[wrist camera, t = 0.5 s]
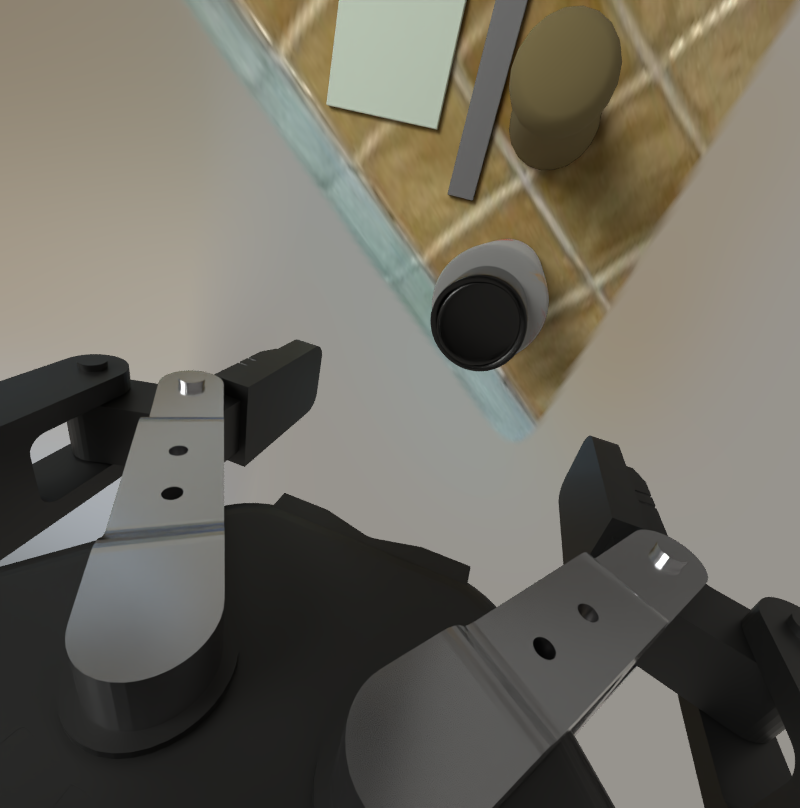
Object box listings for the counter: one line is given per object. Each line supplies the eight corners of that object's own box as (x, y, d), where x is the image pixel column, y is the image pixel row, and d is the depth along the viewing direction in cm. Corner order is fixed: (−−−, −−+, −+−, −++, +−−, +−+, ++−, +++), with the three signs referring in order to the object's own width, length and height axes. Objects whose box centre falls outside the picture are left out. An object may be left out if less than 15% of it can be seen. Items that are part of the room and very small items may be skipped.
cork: (622, 95, 27) (672, 21, 18) (563, 186, 30) (577, 165, 20) (544, 49, 28) (551, -50, 18) (492, 143, 30) (474, 102, 21)
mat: (355, -111, 27) (353, -115, 27) (487, -94, 26) (487, -98, 25) (328, 105, 33) (326, 104, 32) (437, 129, 31) (436, 128, 31)
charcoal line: (519, -90, 26) (519, -94, 25) (551, -86, 25) (551, -90, 25) (448, 194, 32) (447, 194, 32) (472, 200, 32) (472, 200, 32)
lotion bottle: (456, 264, 34) (377, 300, 17) (520, 223, 32) (508, 213, 14) (490, 324, 35) (449, 418, 18) (554, 288, 33) (582, 356, 15)
